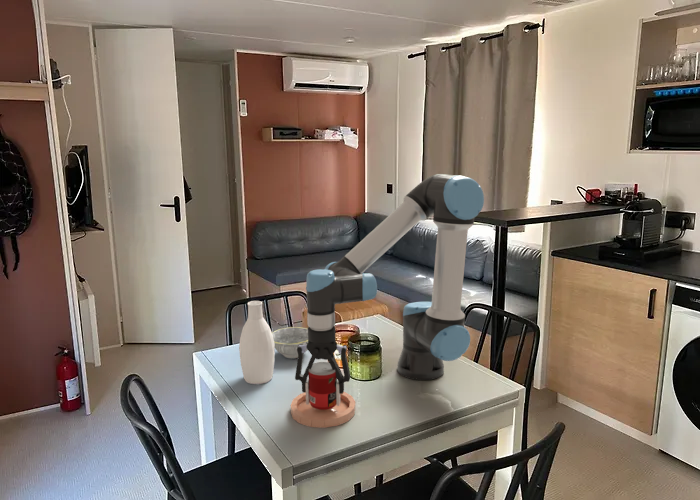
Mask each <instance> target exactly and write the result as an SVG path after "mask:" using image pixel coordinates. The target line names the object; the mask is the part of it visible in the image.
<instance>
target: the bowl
mask: <svg viewBox="0 0 700 500" xmlns="http://www.w3.org/2000/svg"><path fill="white" fill-rule="evenodd" d="M271 332H272V335H273V339H274V344H275V347H274V350H276V352H278V354H281V355H282V356H283V357H284V358H288V359H296V358H297V359H298V352H297V348H298V346H299V344H302V345H306V344H307V343H308V327H299V326H290V327H283V328H279V329H277V330H274V331H271ZM307 351H308V349H306V351H305V353H306V352H307Z"/></svg>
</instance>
